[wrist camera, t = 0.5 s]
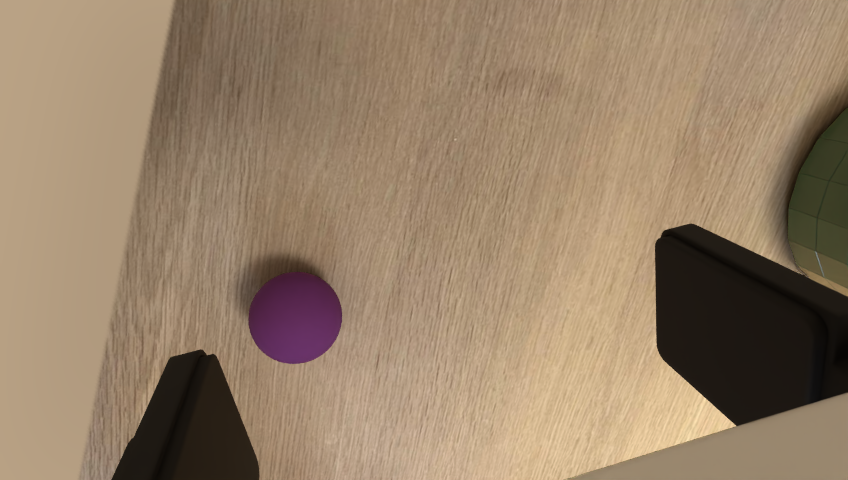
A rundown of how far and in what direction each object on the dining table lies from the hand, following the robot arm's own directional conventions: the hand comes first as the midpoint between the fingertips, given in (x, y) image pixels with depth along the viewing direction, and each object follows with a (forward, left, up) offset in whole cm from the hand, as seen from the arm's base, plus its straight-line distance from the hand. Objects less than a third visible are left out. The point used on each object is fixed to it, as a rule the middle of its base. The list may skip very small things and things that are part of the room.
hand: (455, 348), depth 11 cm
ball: (+7, -6, -18) cm, 20 cm away
